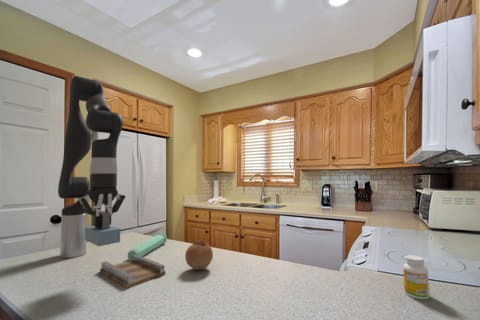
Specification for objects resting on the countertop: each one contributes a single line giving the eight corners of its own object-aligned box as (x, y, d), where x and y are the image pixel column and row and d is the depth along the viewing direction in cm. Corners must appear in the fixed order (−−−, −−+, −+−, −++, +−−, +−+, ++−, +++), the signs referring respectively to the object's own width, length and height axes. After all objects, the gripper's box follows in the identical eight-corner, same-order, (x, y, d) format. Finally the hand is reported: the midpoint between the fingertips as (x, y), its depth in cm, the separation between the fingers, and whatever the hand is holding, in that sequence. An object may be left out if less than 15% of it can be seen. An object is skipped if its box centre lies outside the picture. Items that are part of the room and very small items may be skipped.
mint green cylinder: (135, 246, 94) (164, 230, 118) (122, 251, 94) (154, 235, 119) (140, 260, 93) (168, 242, 118) (127, 266, 94) (158, 246, 118)
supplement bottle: (410, 288, 68) (407, 253, 69) (433, 296, 63) (430, 258, 64) (400, 293, 65) (398, 256, 66) (424, 302, 60) (421, 262, 61)
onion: (217, 266, 87) (217, 238, 88) (205, 276, 78) (204, 245, 79) (194, 263, 90) (194, 236, 91) (179, 273, 81) (179, 242, 82)
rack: (99, 271, 84) (100, 263, 84) (136, 261, 93) (136, 253, 94) (126, 288, 71) (126, 277, 71) (165, 274, 81) (165, 264, 81)
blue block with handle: (84, 239, 77) (85, 211, 78) (104, 236, 82) (105, 209, 82) (98, 246, 69) (99, 214, 70) (120, 242, 74) (120, 212, 75)
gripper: (120, 172, 85) (119, 222, 84) (75, 172, 74) (73, 229, 73) (130, 172, 80) (129, 225, 79) (83, 172, 69) (81, 233, 68)
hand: (102, 227), depth 76 cm, fingers closed on blue block with handle
